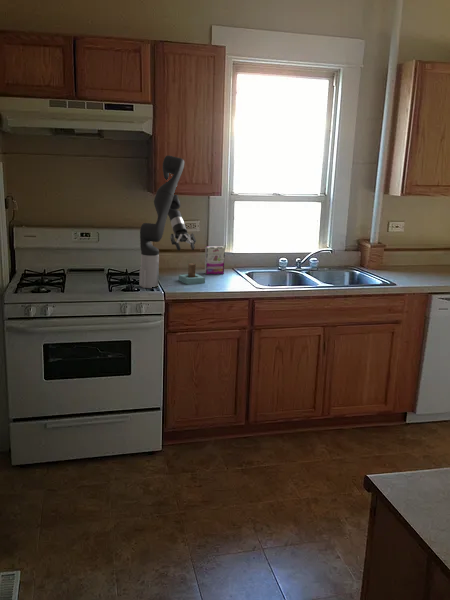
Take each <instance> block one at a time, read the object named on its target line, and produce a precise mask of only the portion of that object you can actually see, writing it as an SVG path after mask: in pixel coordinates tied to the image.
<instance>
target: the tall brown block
mask: <svg viewBox="0 0 450 600" xmlns="http://www.w3.org/2000/svg"><path fill="white" fill-rule="evenodd" d="M187 265H188V268H187V274H188V277H189V278H193V277H195V274H196V266H197V265H196V264H195V263H193V262H192V263H188V264H187Z"/></svg>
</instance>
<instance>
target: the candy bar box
mask: <svg viewBox="0 0 450 600" xmlns="http://www.w3.org/2000/svg"><path fill="white" fill-rule="evenodd" d="M204 248H205V249H204V250H205V253H204V274H205V275H224V274H225V259H226V258H225V256H226V255H225V253H226V252H225V251H226V247H225V246H223V245H222V246H220V245H219V246H218V245H214V246H209V245H207V246H205V247H204Z"/></svg>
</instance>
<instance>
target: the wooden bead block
mask: <svg viewBox="0 0 450 600" xmlns="http://www.w3.org/2000/svg"><path fill="white" fill-rule="evenodd" d="M178 281H179V282H181V283H184V284H186V285H195V284H196V285H197V284H205V283H206V278H205V277H204V276H202V275H201V274H198V273H195V277H193V278H189V277H188V273H187V274H186V273H185V274H178Z"/></svg>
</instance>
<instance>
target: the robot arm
mask: <svg viewBox="0 0 450 600" xmlns="http://www.w3.org/2000/svg"><path fill="white" fill-rule="evenodd" d="M184 168H185V160H184V159H183V158H182V157H177V156H173V155H165V156H164V159H163V161H162V173H163V174H162V175H163V179H164V178H165V179H166V180H167V179H168V177H169V173H170V174H171V176H172V178H171V179H170V180H169V181H168V182H166V183H165V182H164V183H163V184H162V185H161V186H159V188H157V191H156V193H155V196H154V198H153V199H154V200H153V205H154V208H155V209H154V210H155V211H156V214H157V220H156V222H155V223H151V222H144V223H142V224H141V225H140V230H139V239H140V240H139V241H140V243H139V244H140V245H139V246H140V247H139V248H140V267H139V275H138V276H139V284H138V285H139V286H140V287H141V288H143V289H153V288H152V287H155V286H158V287H159V273H160V272H159V271H160V270H159V269H160V268H159V267H160V262H159V261H160V250H159V248H158V247H156V246H154V245H153V244H152V242H154V243H158V242H160V241H161V240H162V238H163V235H164V231H165V226H166V222H167V219H168V217H169V220H170V224H171V228H172V231H173V233H171V234H170V236H169V239H170V242H171V245H175V247H176V248H175V249H176V250H177V251H180V250H181V246H180V243H183V242H184V243H186V244H189V245H190V248H191V251H194V250H195V244H196V242H197V240H196V237H195V234H194V233H193V232H192V233H191V234H189V233H188V229H187V226H186V224H185V221H184V219H183V217H182V213H181V211H180V210H179V209H180V208H181V201H180V199H179V194H178V195H174V193H175V190H176V187H177V186H178V183H179V182H180V179H181V176H182V174H183V172H184V171H183V170H184ZM175 240H176V241H175ZM179 242H180V243H179Z"/></svg>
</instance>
